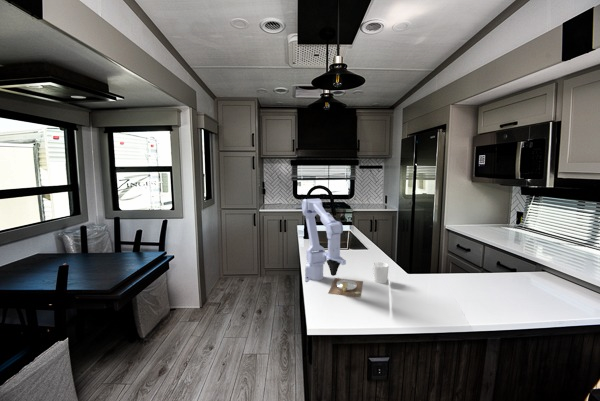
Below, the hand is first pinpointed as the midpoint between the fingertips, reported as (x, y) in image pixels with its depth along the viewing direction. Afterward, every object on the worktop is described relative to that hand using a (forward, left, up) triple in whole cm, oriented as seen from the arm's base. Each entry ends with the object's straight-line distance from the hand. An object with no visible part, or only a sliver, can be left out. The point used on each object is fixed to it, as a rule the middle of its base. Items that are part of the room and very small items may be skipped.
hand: (333, 275), depth 132 cm
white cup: (+21, +20, -10) cm, 31 cm away
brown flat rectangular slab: (+5, +7, -9) cm, 13 cm away
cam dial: (+5, +4, -8) cm, 10 cm away
